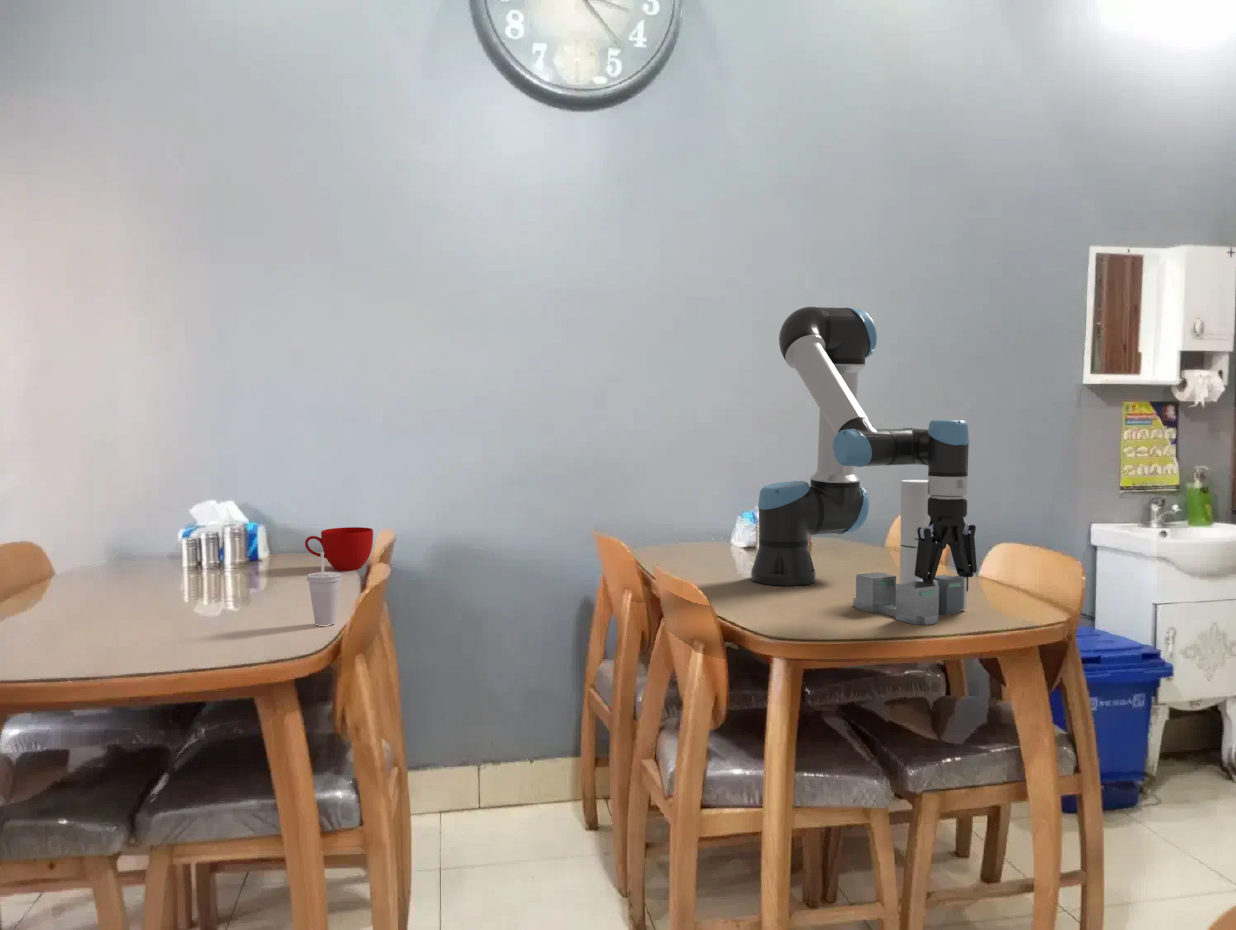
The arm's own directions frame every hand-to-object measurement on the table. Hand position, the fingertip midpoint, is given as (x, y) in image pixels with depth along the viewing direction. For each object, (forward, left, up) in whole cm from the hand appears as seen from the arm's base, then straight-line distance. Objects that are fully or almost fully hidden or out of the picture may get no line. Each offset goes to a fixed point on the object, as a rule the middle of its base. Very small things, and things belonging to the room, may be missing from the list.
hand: (945, 610), depth 188 cm
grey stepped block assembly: (-3, -11, 0) cm, 11 cm away
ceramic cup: (-110, -99, 0) cm, 148 cm away
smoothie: (-47, -113, 0) cm, 123 cm away
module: (0, 0, 0) cm, 0 cm away
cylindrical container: (-16, +8, 0) cm, 18 cm away
